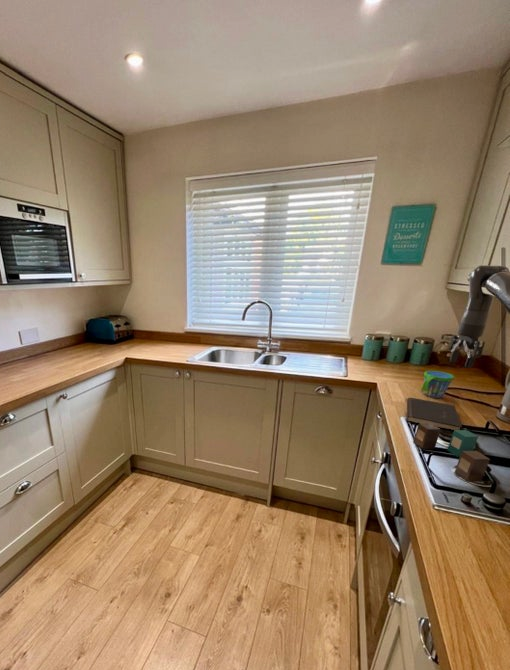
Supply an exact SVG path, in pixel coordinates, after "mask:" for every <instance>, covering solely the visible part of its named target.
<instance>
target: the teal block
mask: <svg viewBox="0 0 510 670" xmlns="http://www.w3.org/2000/svg"><path fill="white" fill-rule="evenodd" d="M478 438H479V436H478V435H476V434H474V432H471V431H469V430H467V429H460V430H454V431H452V435H451V438H450V441H449V444H448V446H447V450H446V451H448V452H449V453H450V454H451V455H454V456H456V457H457V458H460V456H461V453H462V451H474V449H475V446H476V444H477V441H478Z"/></svg>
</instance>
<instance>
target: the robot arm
mask: <svg viewBox="0 0 510 670" xmlns="http://www.w3.org/2000/svg"><path fill="white" fill-rule="evenodd" d="M468 284H469V287H468V288H469V292H468V301H467V303H466V307H465V310H464V313H463V315H462V317H461V320H460V323H459V327H458V330H457V334H455V335H454V334H453V335H452V337H451V340H450V342H449V346H448V351H450V353H451V354H450V357H449V363H456V362H457V361H458V357H459V354H460V352H461V351H462V350H464V351H465V353H466V355H467V357H466V360H465V363H464V368H466V369H471V368H472V367H473V366H474V363H475V360H476V359H480V358H481V357H482V354H483V351H484V348H485V344H486V341H483V340H482V341H479V338H481V337H482V336H483V335H484V332H485V329H486V326H487V322H488V320H489V317H490V316H489V315H490V312H491V308H492V306H493V303H494V299H495V298H497V299H498V301H499V302H500V304H501V305H502V306H503V308H504V309H505V310H506V312H507V313H508V315H510V268H508V267H507V266H504V265H485V264H483V265H478V266H476V267H475V268H473V269H472V271H471V272H470V274H469V279H468ZM483 287H485V289H486V291H487V292H488V293H486V292H484V291H483ZM494 297H495V298H494Z"/></svg>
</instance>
